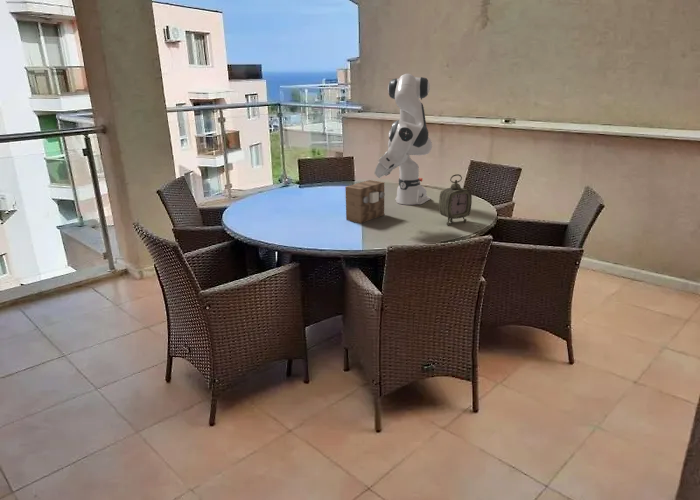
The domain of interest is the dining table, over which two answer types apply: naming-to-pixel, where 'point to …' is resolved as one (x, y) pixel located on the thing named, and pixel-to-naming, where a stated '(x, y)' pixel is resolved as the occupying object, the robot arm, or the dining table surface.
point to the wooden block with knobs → (364, 201)
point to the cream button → (373, 197)
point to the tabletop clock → (455, 201)
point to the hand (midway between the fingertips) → (386, 174)
